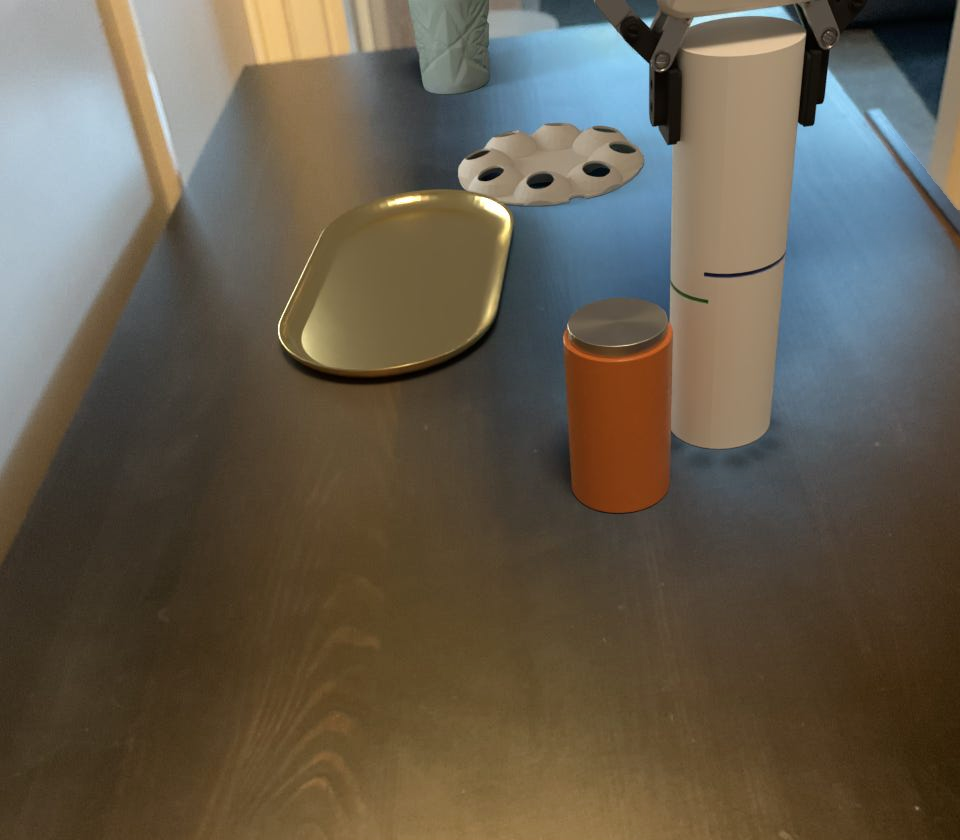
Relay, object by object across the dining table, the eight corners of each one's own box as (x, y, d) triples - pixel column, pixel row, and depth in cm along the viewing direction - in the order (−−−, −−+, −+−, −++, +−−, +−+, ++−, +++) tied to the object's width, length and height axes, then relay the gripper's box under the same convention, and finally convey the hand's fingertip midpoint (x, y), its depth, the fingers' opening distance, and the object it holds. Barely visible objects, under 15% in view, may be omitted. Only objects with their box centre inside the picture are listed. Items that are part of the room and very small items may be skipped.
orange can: (659, 450, 75) (661, 288, 67) (679, 506, 71) (683, 340, 62) (565, 462, 76) (556, 302, 67) (578, 519, 71) (570, 355, 63)
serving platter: (258, 391, 87) (253, 374, 86) (342, 210, 112) (339, 195, 111) (488, 383, 84) (486, 365, 83) (522, 199, 109) (521, 183, 108)
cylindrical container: (762, 453, 74) (797, 55, 57) (658, 443, 76) (662, 57, 59) (776, 397, 79) (813, 14, 61) (679, 389, 81) (687, 17, 63)
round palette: (649, 128, 119) (649, 109, 118) (636, 202, 106) (636, 182, 104) (476, 136, 123) (474, 118, 122) (442, 208, 109) (439, 189, 108)
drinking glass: (402, 87, 138) (387, -19, 130) (461, 64, 143) (449, -40, 134) (455, 101, 132) (442, -10, 124) (514, 76, 137) (505, -32, 129)
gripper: (911, -295, 54) (861, 87, 66) (563, -245, 54) (578, 126, 66) (971, -284, 48) (905, 130, 61) (585, -229, 49) (596, 171, 61)
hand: (734, 125), depth 63 cm, fingers closed on cylindrical container, 7 cm apart
